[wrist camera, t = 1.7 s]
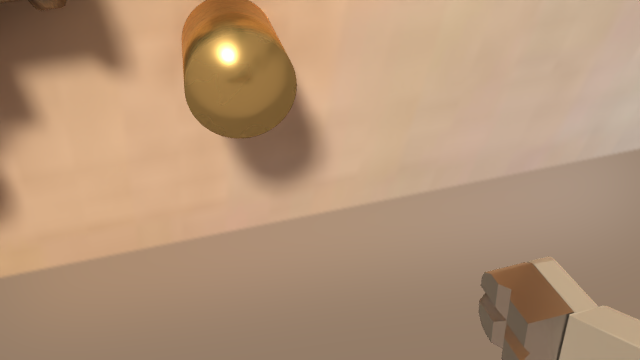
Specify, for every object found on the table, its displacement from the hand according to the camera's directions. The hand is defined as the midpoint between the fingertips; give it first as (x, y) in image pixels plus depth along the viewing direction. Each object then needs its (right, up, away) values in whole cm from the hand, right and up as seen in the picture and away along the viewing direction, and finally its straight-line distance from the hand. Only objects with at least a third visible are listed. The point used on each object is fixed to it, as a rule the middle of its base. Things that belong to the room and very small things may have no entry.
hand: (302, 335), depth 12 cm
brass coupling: (-4, +10, +16) cm, 20 cm away
